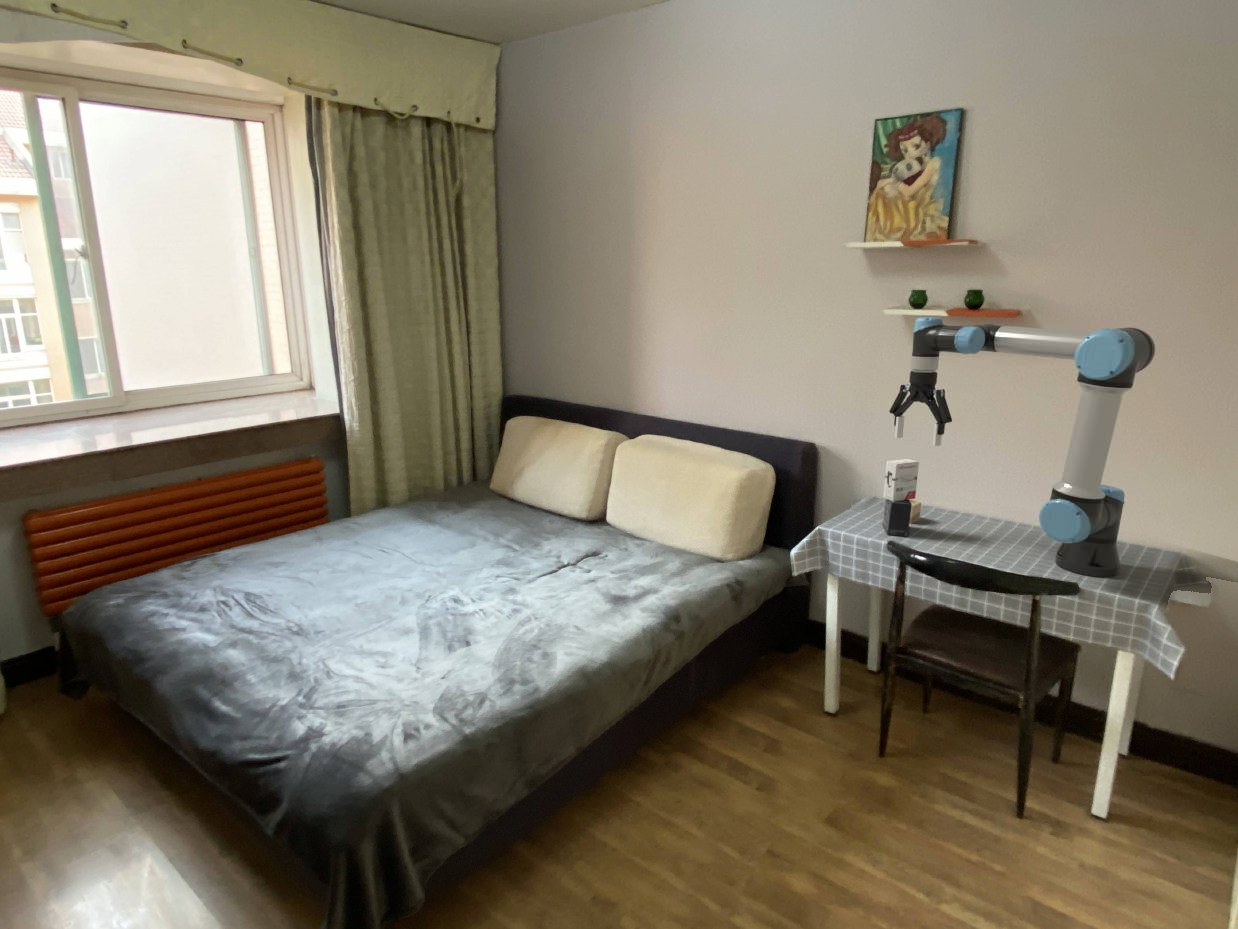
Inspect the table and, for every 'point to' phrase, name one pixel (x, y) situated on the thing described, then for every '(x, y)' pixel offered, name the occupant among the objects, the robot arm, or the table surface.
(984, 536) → the table surface
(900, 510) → the small box
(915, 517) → the oak cube
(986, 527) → the table surface
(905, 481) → the ink box
